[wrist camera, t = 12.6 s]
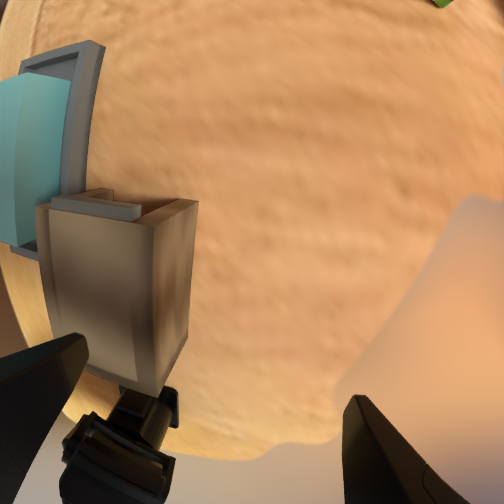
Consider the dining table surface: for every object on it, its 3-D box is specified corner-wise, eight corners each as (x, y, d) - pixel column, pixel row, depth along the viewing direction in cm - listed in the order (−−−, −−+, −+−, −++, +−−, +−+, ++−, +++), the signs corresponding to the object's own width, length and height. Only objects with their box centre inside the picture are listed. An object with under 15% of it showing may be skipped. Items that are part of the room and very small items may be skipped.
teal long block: (59, 228, 20) (17, 247, 15) (31, 222, 20) (-9, 238, 15) (71, 81, 16) (27, 72, 11) (40, 87, 16) (-2, 82, 11)
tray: (86, 261, 21) (71, 271, 19) (25, 244, 22) (10, 251, 20) (105, 47, 15) (90, 39, 13) (37, 64, 16) (21, 61, 14)
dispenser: (187, 337, 22) (157, 398, 16) (104, 313, 23) (59, 359, 16) (199, 192, 18) (155, 213, 12) (100, 180, 19) (34, 196, 12)
